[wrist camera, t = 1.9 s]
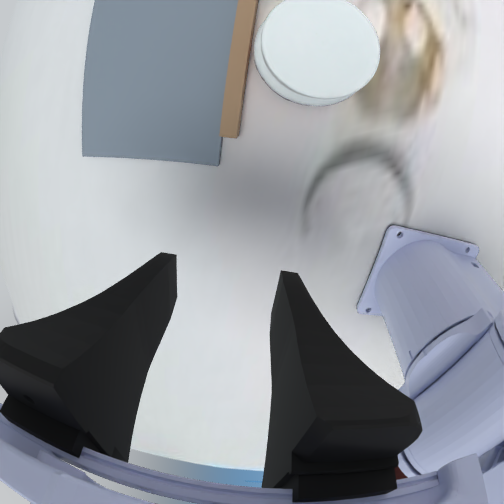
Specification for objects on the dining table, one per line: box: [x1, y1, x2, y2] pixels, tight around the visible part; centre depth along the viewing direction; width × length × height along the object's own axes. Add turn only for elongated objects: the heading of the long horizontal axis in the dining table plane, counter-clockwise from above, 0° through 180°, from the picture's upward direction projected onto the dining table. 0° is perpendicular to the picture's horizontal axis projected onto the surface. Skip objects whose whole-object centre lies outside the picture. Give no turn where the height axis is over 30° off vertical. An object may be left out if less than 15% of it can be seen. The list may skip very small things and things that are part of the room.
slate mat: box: [82, 0, 258, 166], centre depth 14 cm, size 11×14×1 cm
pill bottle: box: [254, 0, 380, 106], centre depth 11 cm, size 5×5×8 cm
